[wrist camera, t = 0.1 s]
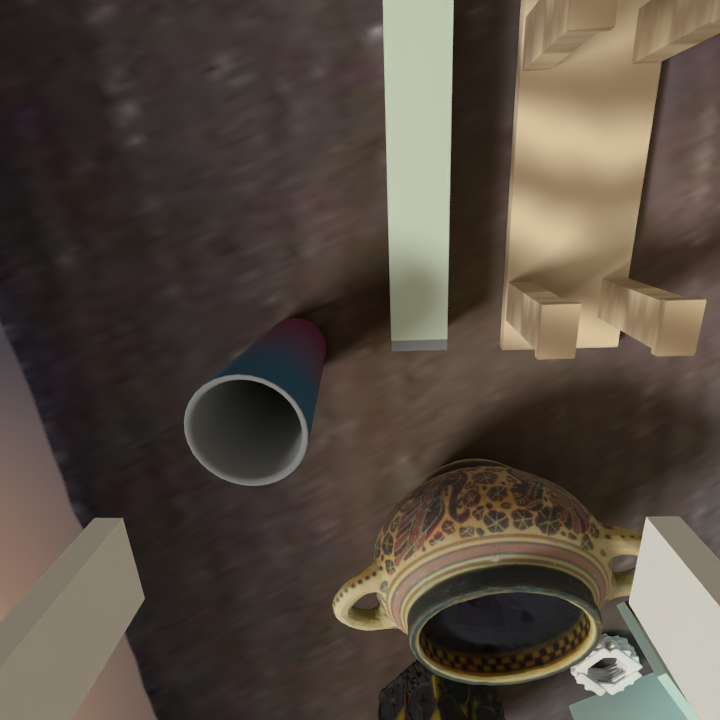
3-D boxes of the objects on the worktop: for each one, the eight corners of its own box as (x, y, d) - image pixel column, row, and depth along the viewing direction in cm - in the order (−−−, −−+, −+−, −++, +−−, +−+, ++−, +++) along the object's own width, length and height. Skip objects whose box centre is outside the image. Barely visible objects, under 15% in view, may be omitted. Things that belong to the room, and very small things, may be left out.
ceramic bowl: (602, 399, 39) (728, 515, 24) (603, 560, 44) (705, 730, 30) (324, 437, 41) (292, 562, 27) (359, 585, 47) (348, 751, 33)
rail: (383, 15, 30) (382, -18, 25) (443, 11, 30) (454, -24, 25) (390, 331, 37) (391, 351, 33) (439, 330, 37) (447, 349, 33)
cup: (314, 294, 37) (270, 354, 23) (350, 365, 39) (329, 462, 25) (243, 326, 38) (159, 402, 24) (280, 394, 40) (223, 501, 26)
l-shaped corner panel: (623, 600, 46) (666, 673, 39) (673, 670, 49) (721, 749, 42) (519, 646, 49) (542, 721, 42) (572, 709, 52) (602, 789, 45)
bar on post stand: (520, -24, 29) (582, -123, 20) (669, -35, 28) (802, -144, 19) (498, 346, 37) (534, 393, 28) (613, 343, 37) (686, 390, 28)
